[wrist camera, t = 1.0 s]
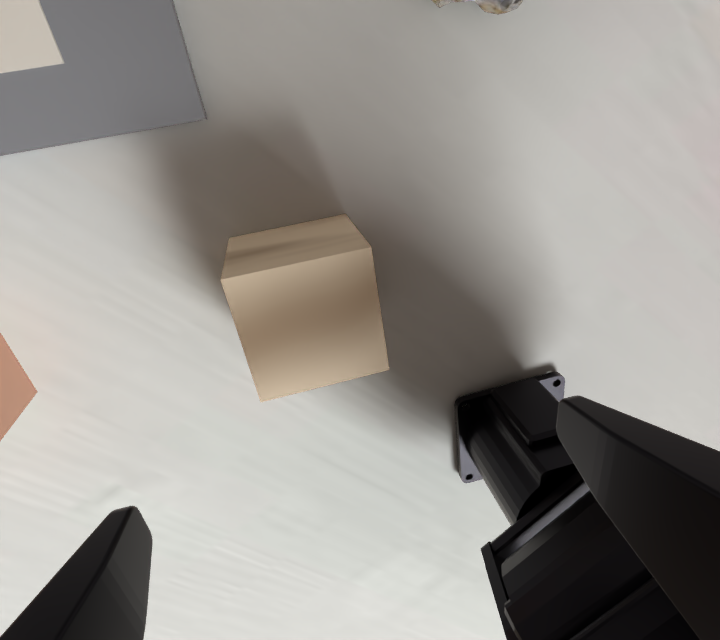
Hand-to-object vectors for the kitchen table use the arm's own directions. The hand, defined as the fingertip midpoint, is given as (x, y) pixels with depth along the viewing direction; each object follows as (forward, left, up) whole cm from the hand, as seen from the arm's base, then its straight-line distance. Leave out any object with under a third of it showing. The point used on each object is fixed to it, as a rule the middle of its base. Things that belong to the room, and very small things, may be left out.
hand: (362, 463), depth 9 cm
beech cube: (0, 0, -12) cm, 12 cm away
